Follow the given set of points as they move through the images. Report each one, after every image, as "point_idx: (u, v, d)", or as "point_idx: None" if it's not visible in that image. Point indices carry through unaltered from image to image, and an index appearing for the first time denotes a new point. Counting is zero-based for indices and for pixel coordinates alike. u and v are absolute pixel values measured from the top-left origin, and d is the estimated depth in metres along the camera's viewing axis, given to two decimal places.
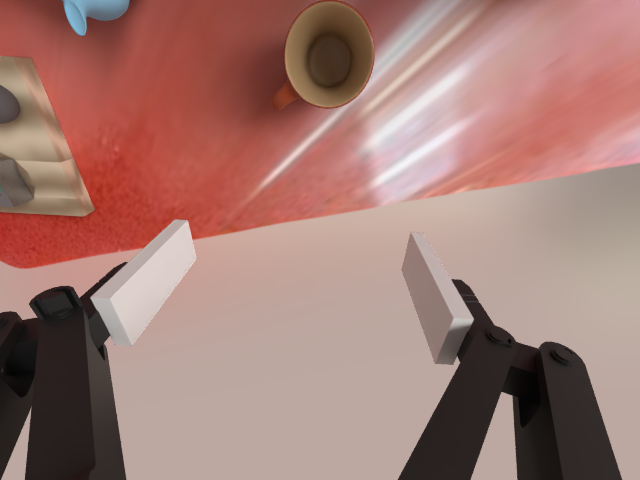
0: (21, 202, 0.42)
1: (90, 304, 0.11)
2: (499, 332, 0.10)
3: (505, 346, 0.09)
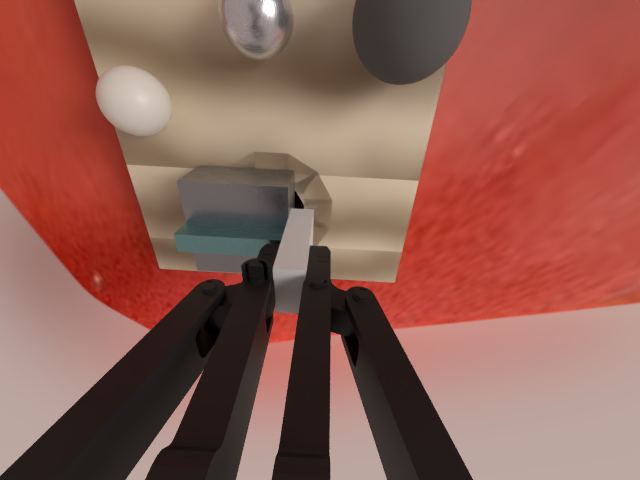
0: None
1: None
2: (317, 278, 0.12)
3: (323, 287, 0.12)
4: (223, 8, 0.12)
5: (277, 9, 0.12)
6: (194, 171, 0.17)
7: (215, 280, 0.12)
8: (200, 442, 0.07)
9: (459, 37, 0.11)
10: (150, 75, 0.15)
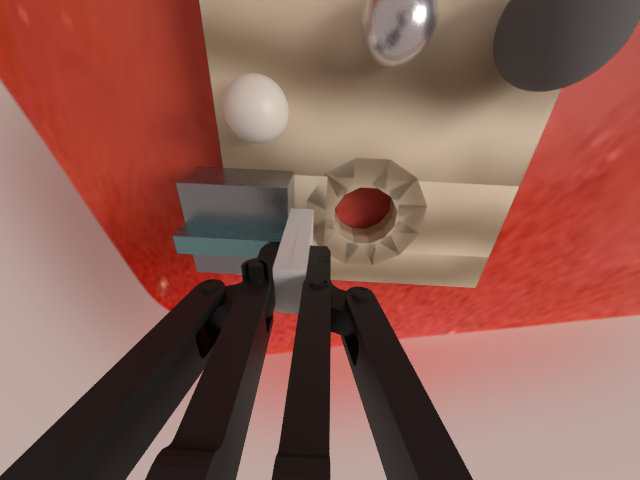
0: None
1: None
2: (317, 278, 0.12)
3: (324, 287, 0.12)
4: (377, 16, 0.12)
5: (432, 16, 0.12)
6: (193, 172, 0.17)
7: (215, 281, 0.12)
8: (200, 442, 0.07)
9: None
10: (275, 82, 0.14)
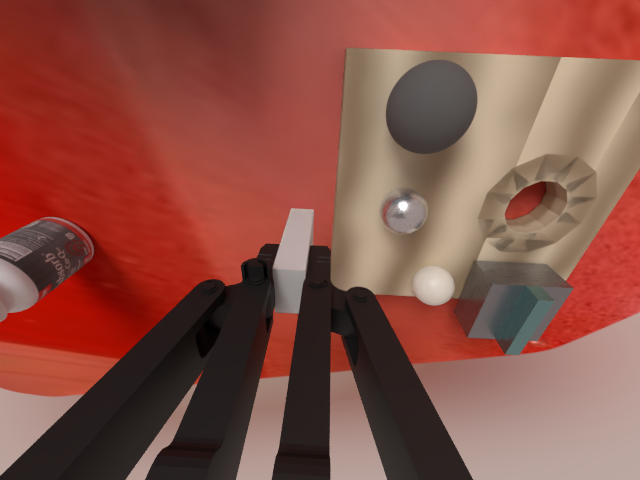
0: (559, 277, 0.23)
1: None
2: (317, 278, 0.12)
3: (324, 287, 0.12)
4: (403, 233, 0.20)
5: (408, 203, 0.19)
6: (459, 320, 0.27)
7: (215, 281, 0.12)
8: (200, 443, 0.07)
9: (459, 72, 0.14)
10: (420, 273, 0.24)
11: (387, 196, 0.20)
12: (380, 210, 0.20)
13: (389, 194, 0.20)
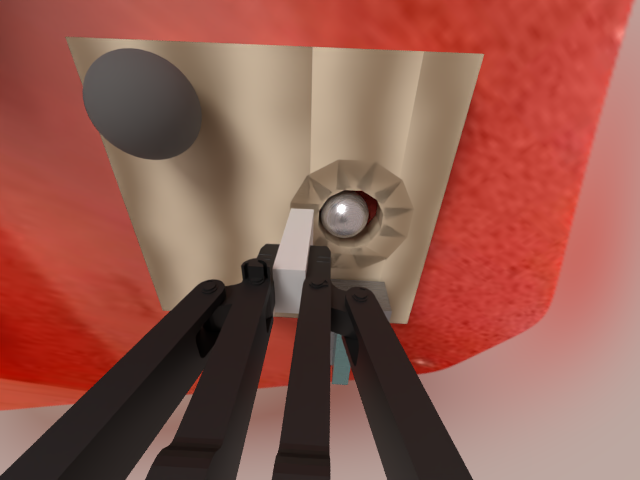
0: (385, 298, 0.20)
1: None
2: (317, 278, 0.12)
3: (324, 287, 0.12)
4: (346, 235, 0.19)
5: (348, 203, 0.18)
6: None
7: (215, 280, 0.12)
8: (200, 443, 0.07)
9: (130, 63, 0.12)
10: None
11: (327, 199, 0.19)
12: (321, 214, 0.20)
13: (329, 197, 0.19)
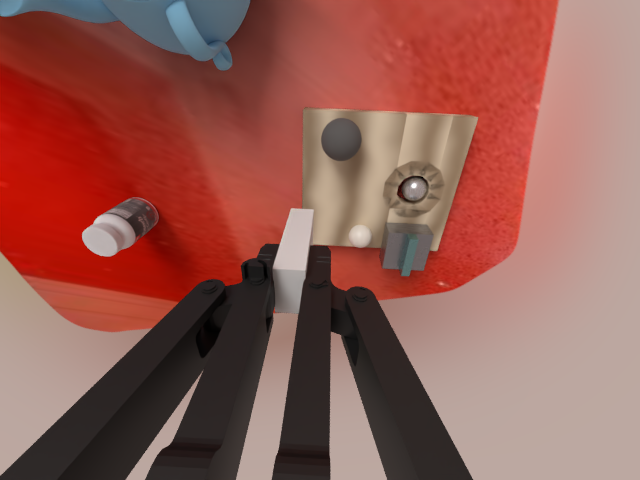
0: (429, 230, 0.41)
1: None
2: (317, 278, 0.12)
3: (324, 287, 0.12)
4: (419, 198, 0.40)
5: (421, 182, 0.39)
6: (380, 260, 0.44)
7: (215, 281, 0.12)
8: (200, 443, 0.07)
9: (348, 125, 0.32)
10: (352, 229, 0.41)
11: (408, 182, 0.39)
12: (407, 190, 0.39)
13: (409, 181, 0.39)
